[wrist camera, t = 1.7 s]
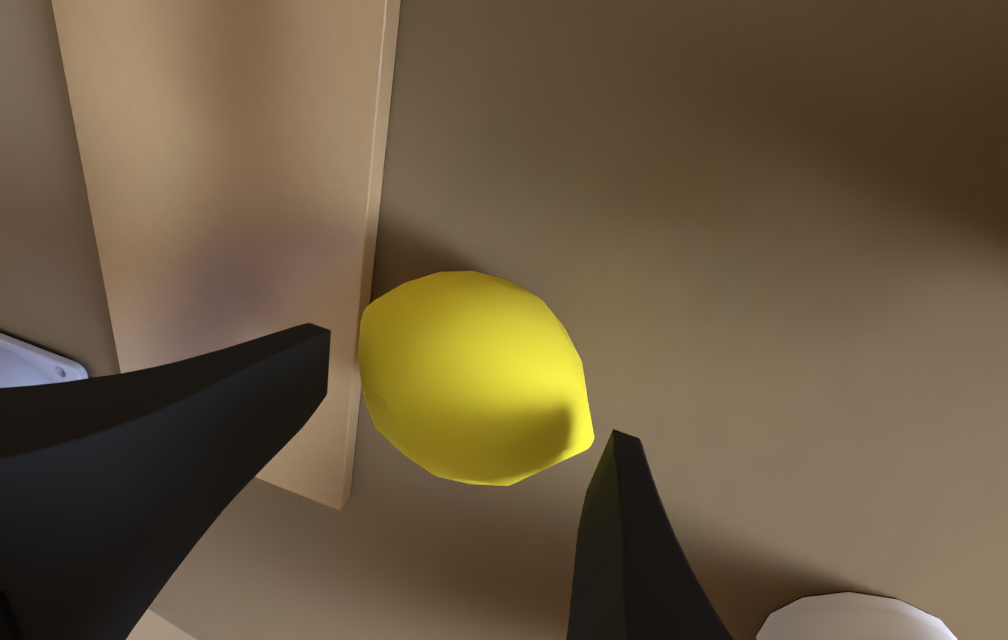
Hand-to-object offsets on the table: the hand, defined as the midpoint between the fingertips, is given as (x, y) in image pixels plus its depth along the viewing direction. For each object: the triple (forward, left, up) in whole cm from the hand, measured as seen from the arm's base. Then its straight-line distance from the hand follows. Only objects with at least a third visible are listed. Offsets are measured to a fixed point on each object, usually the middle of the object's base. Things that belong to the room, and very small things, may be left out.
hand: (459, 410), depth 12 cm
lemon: (0, 0, -4) cm, 4 cm away
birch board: (-10, 0, -4) cm, 10 cm away
